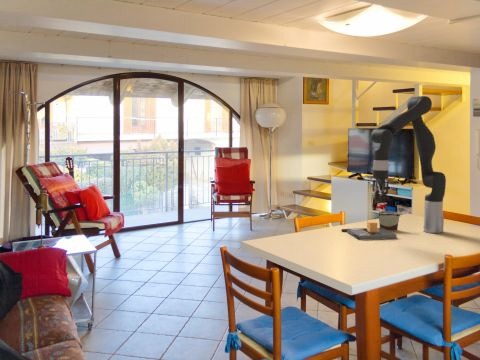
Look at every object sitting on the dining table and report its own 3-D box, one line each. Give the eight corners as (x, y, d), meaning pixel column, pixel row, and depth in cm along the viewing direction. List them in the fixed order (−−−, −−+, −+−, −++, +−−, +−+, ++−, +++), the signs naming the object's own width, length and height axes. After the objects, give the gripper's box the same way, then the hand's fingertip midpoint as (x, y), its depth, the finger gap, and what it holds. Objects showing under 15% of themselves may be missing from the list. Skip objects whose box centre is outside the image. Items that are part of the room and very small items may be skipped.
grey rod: (359, 230, 263) (359, 228, 263) (360, 231, 262) (360, 228, 262) (340, 231, 262) (340, 228, 262) (341, 231, 261) (341, 229, 260)
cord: (346, 232, 259) (346, 230, 258) (349, 232, 259) (349, 230, 259) (357, 239, 242) (357, 237, 242) (360, 239, 242) (360, 236, 242)
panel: (381, 231, 262) (382, 227, 262) (396, 238, 244) (396, 234, 244) (347, 232, 260) (347, 228, 259) (359, 239, 242) (359, 235, 242)
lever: (374, 233, 253) (374, 221, 252) (377, 235, 249) (377, 222, 248) (366, 233, 253) (367, 221, 252) (369, 235, 249) (370, 223, 248)
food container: (397, 228, 269) (398, 211, 268) (399, 230, 263) (400, 213, 262) (375, 228, 270) (375, 210, 269) (377, 230, 264) (377, 212, 263)
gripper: (394, 170, 232) (393, 203, 233) (381, 167, 246) (381, 199, 248) (379, 170, 231) (378, 204, 233) (368, 168, 245) (367, 199, 247)
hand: (379, 201), depth 240 cm, fingers open, 6 cm apart
